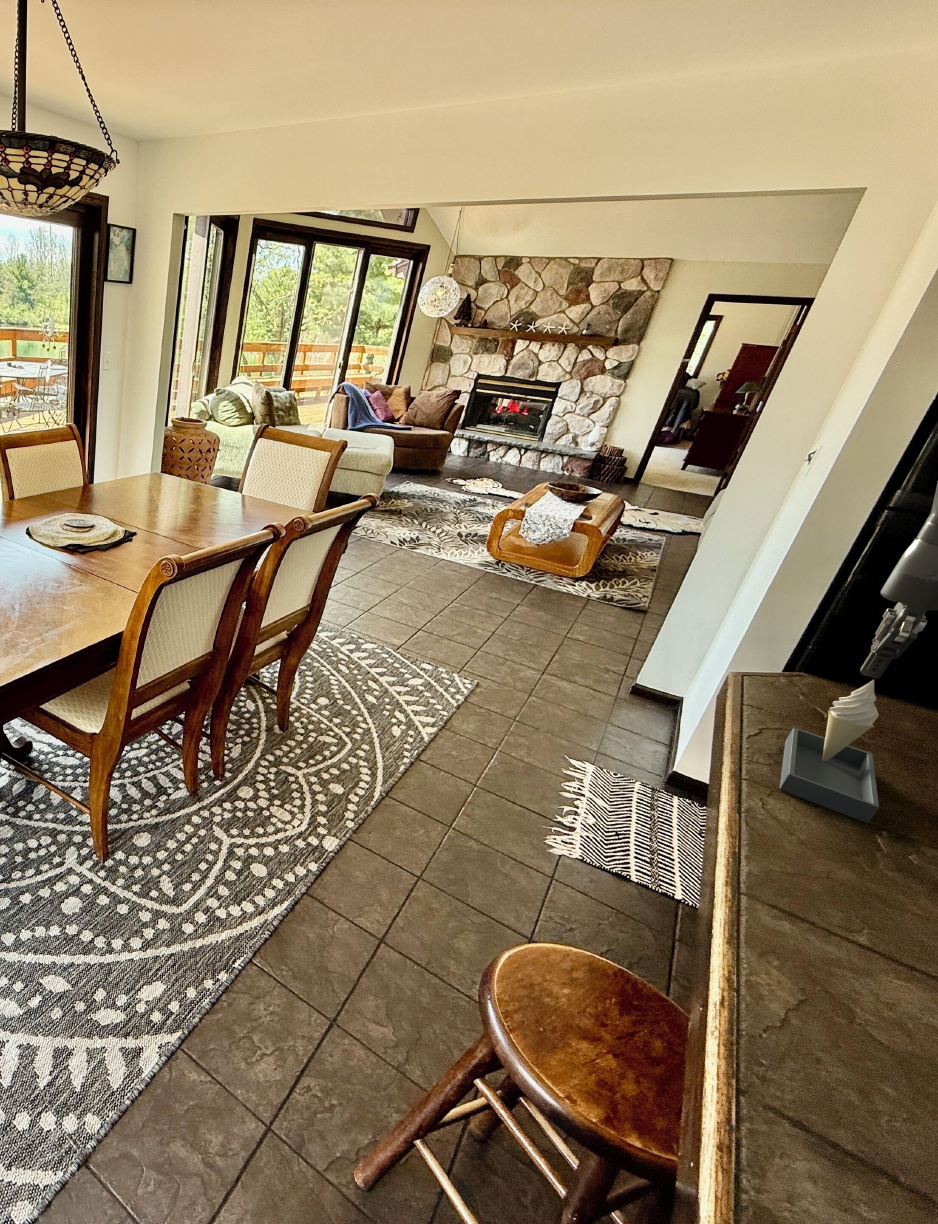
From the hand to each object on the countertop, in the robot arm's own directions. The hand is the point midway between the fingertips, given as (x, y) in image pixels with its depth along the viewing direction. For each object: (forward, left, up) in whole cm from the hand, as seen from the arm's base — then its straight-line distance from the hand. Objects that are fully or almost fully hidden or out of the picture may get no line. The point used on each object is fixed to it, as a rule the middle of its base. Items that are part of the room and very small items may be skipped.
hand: (869, 675), depth 101 cm
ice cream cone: (+2, +6, -14) cm, 15 cm away
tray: (+4, +13, -14) cm, 19 cm away
